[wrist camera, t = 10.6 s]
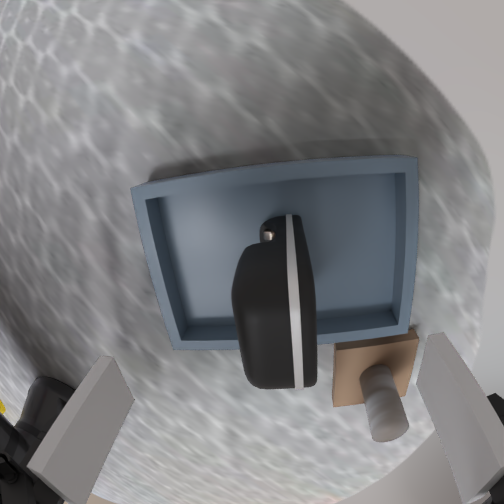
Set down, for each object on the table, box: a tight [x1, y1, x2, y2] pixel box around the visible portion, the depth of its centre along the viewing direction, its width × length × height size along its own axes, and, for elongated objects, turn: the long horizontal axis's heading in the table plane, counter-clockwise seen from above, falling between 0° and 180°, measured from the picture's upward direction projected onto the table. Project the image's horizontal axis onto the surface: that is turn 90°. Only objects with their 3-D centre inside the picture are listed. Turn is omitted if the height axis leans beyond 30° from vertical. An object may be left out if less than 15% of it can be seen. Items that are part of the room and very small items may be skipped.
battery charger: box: [231, 214, 317, 390], centre depth 18 cm, size 7×4×11 cm, turn 7°
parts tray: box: [130, 155, 419, 350], centre depth 23 cm, size 20×14×3 cm
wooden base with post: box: [332, 329, 419, 442], centre depth 23 cm, size 8×8×9 cm
